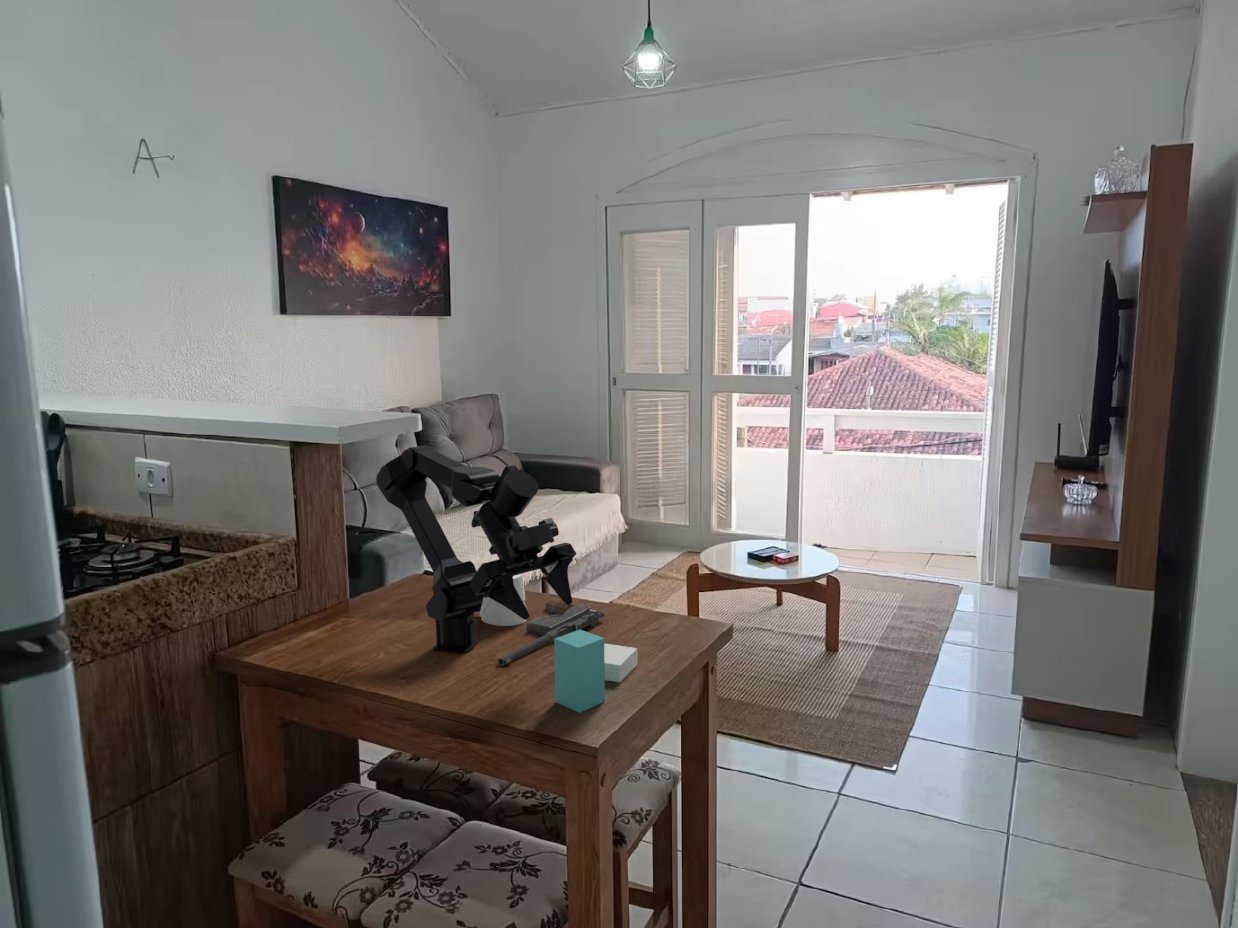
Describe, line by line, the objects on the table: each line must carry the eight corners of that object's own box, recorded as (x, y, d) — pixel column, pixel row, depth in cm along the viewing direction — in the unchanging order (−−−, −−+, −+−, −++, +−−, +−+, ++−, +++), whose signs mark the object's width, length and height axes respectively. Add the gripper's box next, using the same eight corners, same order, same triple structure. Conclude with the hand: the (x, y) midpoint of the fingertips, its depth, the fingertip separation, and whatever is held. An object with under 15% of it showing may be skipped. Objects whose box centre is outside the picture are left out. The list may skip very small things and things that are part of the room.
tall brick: (555, 701, 138) (554, 638, 136) (580, 691, 142) (580, 629, 140) (579, 712, 134) (578, 647, 132) (604, 701, 138) (604, 638, 136)
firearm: (555, 609, 184) (612, 619, 175) (449, 658, 160) (509, 673, 151) (554, 594, 184) (611, 604, 175) (447, 641, 160) (507, 655, 151)
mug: (533, 571, 175) (512, 582, 168) (534, 616, 177) (513, 629, 170) (483, 564, 180) (460, 575, 173) (484, 608, 182) (462, 620, 175)
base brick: (576, 675, 148) (576, 658, 147) (595, 658, 155) (595, 642, 155) (620, 682, 145) (620, 665, 144) (637, 664, 152) (637, 648, 152)
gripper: (478, 514, 135) (526, 598, 129) (568, 495, 148) (615, 571, 142) (450, 554, 142) (495, 635, 136) (538, 533, 155) (582, 607, 149)
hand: (549, 611), depth 141 cm, fingers open, 9 cm apart
